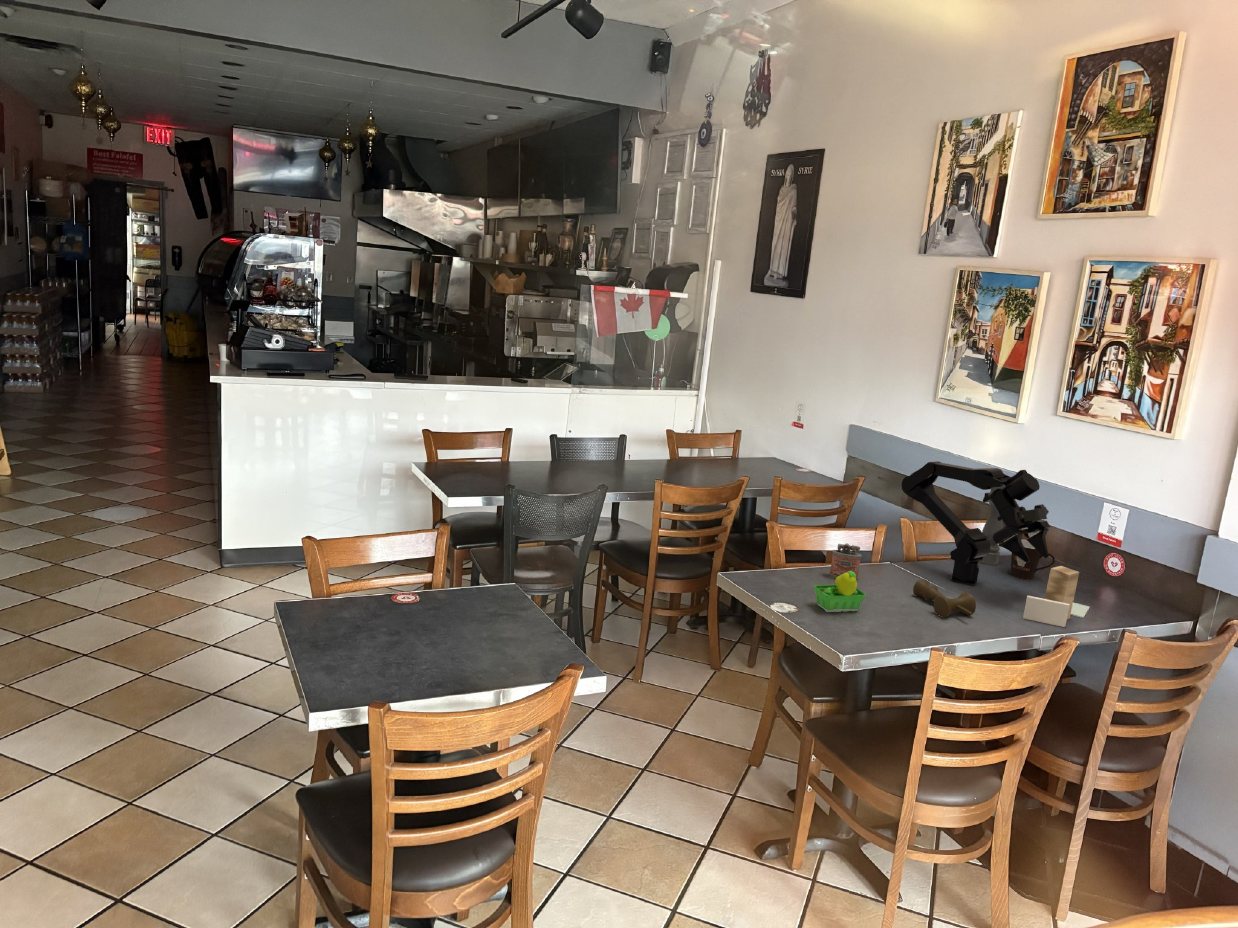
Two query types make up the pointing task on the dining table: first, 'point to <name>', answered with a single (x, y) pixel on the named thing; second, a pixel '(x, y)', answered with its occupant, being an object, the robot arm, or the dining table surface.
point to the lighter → (845, 560)
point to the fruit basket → (840, 593)
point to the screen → (1046, 611)
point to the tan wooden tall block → (1062, 586)
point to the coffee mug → (1029, 568)
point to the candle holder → (988, 530)
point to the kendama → (945, 599)
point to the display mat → (1079, 610)
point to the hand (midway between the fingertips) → (1037, 559)
